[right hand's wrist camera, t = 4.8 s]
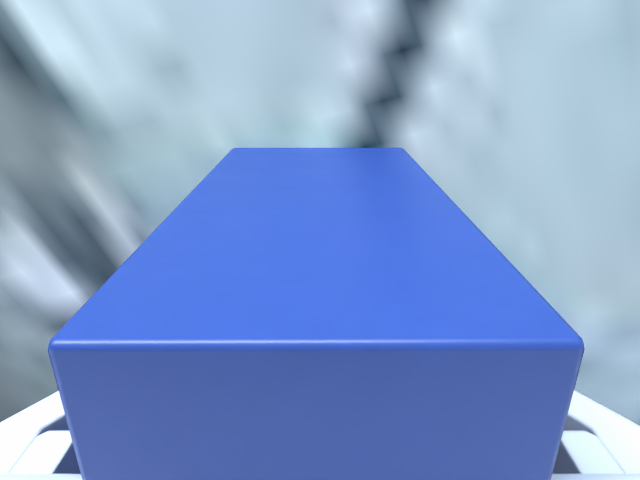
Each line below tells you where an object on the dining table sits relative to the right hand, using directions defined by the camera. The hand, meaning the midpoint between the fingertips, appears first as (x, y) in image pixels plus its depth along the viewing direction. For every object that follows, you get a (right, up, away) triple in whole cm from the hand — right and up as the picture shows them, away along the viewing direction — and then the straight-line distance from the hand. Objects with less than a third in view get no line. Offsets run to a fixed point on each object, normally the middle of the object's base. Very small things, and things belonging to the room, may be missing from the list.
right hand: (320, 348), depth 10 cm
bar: (0, -8, +7) cm, 10 cm away
